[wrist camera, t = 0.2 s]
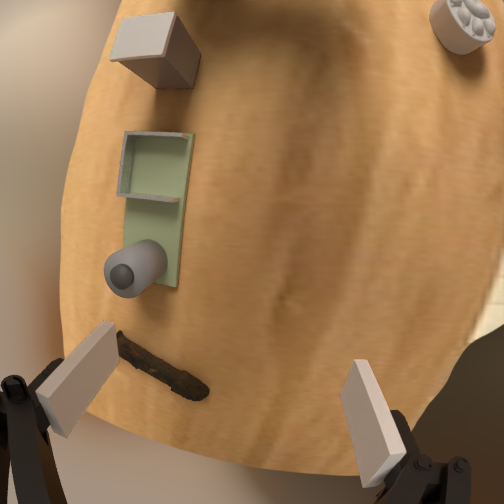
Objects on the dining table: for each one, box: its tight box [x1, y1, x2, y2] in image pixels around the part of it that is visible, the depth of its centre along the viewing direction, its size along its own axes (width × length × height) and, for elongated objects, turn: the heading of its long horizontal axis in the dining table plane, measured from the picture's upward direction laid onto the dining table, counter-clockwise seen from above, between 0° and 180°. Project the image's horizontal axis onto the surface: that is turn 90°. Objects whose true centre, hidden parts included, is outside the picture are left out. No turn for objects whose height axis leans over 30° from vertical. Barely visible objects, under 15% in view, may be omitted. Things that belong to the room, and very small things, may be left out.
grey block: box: [109, 12, 201, 89], centre depth 29 cm, size 6×7×13 cm
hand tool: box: [116, 331, 210, 401], centre depth 45 cm, size 19×4×5 cm, turn 58°
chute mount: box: [117, 131, 189, 203], centre depth 36 cm, size 9×8×3 cm
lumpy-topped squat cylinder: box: [429, 0, 496, 55], centre depth 25 cm, size 10×13×9 cm
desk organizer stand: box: [104, 131, 195, 298], centre depth 35 cm, size 22×9×10 cm, turn 172°
